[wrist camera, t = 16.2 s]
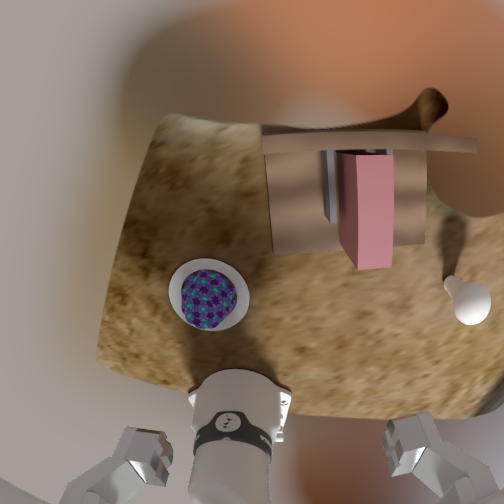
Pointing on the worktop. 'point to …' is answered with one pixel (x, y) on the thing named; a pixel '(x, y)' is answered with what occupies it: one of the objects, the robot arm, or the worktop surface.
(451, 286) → the lightbulb
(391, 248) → the book
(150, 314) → the worktop surface
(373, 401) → the worktop surface
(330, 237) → the shelf stand
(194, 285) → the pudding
